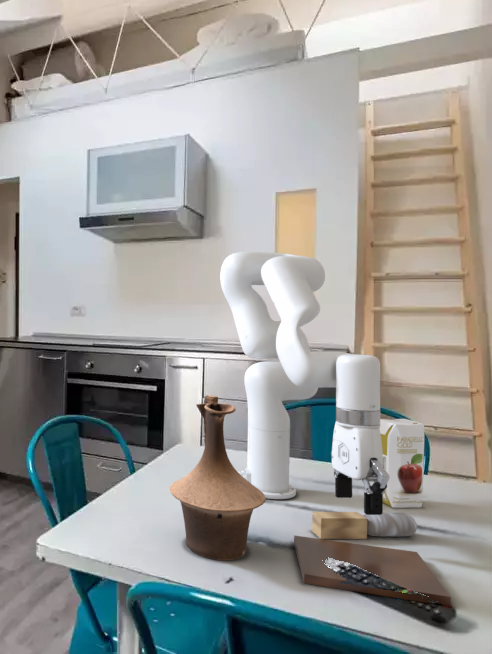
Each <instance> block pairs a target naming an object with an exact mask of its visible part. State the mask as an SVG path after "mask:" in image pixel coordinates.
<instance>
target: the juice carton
mask: <svg viewBox="0 0 492 654" xmlns="http://www.w3.org/2000/svg"><path fill="white" fill-rule="evenodd" d="M379 429H380V434H381V441H382V452H383V468H384V469H385V470H386V472H387V473H388V474H389V480H388V483H387V488H386V489H385V493H384V494H383V504H385V505H387V506H389V507H391V508H394V509H401V508H402V509H403V508H422V505H423V499H424V498H423V496H424V468H425V467H424V466H425V465H424V464H425V424H424V423H422V422H419V421H415V420H411V419H408V418H395V419H387V418H380V428H379Z"/></svg>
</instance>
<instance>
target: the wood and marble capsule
mask: <svg viewBox="0 0 492 654" xmlns="http://www.w3.org/2000/svg"><path fill="white" fill-rule="evenodd" d="M311 519H312V521H311V532H312V533H313V534H315V535H316V536H317V537H318V539H324V540H333V539H334V540H358V539H359V540H367V539H368V535H369V536H371V537H411V536H413V535H414V534H415V533H416V532H417V531H418V523H417V521H416V519H415V518H414V517H413V516H412V515H411V514H408V513H407V512H389V511H388V512H384V511H383V513H382V515H367V514H365V513H364V514H361V513H360V512H358V511H312V518H311Z"/></svg>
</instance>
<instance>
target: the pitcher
mask: <svg viewBox="0 0 492 654" xmlns="http://www.w3.org/2000/svg"><path fill="white" fill-rule="evenodd" d="M196 408H197V409H198V411H199V413H200V414H201V416H202V418H203V434H204V435H203V437H204V439H203V440H204V449H203V453H202V456H201V458H200V459H199V461H198V463H197V464H196V466H194V468H193V469H192V470H190V472H189V473H187V474H186V475H184V476H183V477H181V478H180V479H178V480H175V481H174V482H172V483H171V484H170V486H169V492H170V494H171V495H172V496H173V497H174V499H176V500H178V501H179V502H180V505H181V510H182V516H183V523H184V529H185V545H186V547H187V548H188V550H190V551H191V552H192V553H194V554H196V555H198V556H200V557H203V558H207V559H211V560H215V561H216V560H217V561H230V560H231V561H233V560H237V559H240V558H242V557H244V556H245V555H246V554H247V551H248V549H247V544H248V543H247V542H248V534H249V528H250V523H251V518H252V515H253V511H254V510H255V509H257V508H259V507H261V506H263V505H264V504H265V503H266V499H267V498H265V495H264V494H263V493H262V492H261V491H260V490H259V489H258V488H256V487H255V486H254V485H252V484H251V483H250V482H248V481H247V480H246V479H245V478H244V477H242V476H241V475H240V474H239V473H238V472H237V471H238V470H236V468H235V467H234V465H233V464H232V462H231V460H230V458H229V456H228V453H227V452H228V451H227V449H226V444H225V443H226V442H225V434H224V421H225V417H226V415H230V414H233V413H235V412H236V411H237V409H236V407H235V406H234V405H232V404H229V403H219V397H218V396H216V395H213V394H206V395H205V396H204V400H203V403H196Z"/></svg>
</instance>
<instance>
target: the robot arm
mask: <svg viewBox="0 0 492 654" xmlns="http://www.w3.org/2000/svg"><path fill="white" fill-rule="evenodd" d="M219 280H220V281H219V282H220V287H221V291H222V293H223V296H224V298H225V300H226V302H227V304H228V306H229V308H230V311H231V314H232V317H233V322H234V325H235V329H236V333H237V336H238V340H239V343H240V347H241V349H242V352H243V353H244V355H245V356H246V357H249V358H252V359H262V360H263V359H267V361H265V360H264V361H258V362H255V363H253V364H251V365H250V366H249V367H248V368H247V369H246V371H245V373H244V377H243V382H244V389H245V395H246V403H247V452H246V454H247V457H246V466H245V468H244V469H241V470H236V471H237V472H238V473H239V474H240V475H241V476H242V477H244V478H245V479H246V480H247V481H248V482H250V483H251V484H252V485H254V486H255V487H256V488H258V489H259V490H260V491H261V492H262V493H263V494H264V495H265V498H266V499H268V500H288V499H292V498H294V497H296V495H297V489H296V487H294V486H293V485H291V484H290V452H291V451H290V450H291V448H290V447H291V418H290V415H289V413H288V410H287V409H286V407H285V405H284V404H283V402H284V401H300V400H307V399H310V398H313V397H314V396H315V395H316V394H317V392H318V390H319V388H321V389H323V388H331V389H332V388H335V423H334V428H333V435H332V444H331V445H332V446H331V452H330V456H331V466H332V468H333V476H334V490H335V491H334V497H336V498H338V499H343V498H344V499H351V498H352V497H353V480H355V481H361V482H362V484H363V486H364V489H365V492H363V513H364V515H365V514H367V515H382V513H383V512H384V507H383V506H384V505H383V504H384V503H383V494H384V493H385V489H386V488H387V483H388V480H389V474H388V473H387V472H386V470H385V469H384V468H383V452H382V441H381V434H380V429H379V428H380V419H381V362H380V359H379V358H378V357H376V356H374V355H371V354H358V353H357V354H356V353H355V354H354V353H349V352H345V351H335V350H333V351H324V350H321V351H319V350H318V351H317V350H316V351H311V348H310V345H309V342H308V340H307V337H306V334H305V332H304V331H303V329H302V328H301V327H303V326H306V325H307V324H309V323H310V322H312V321H313V320H314V319H316V317H318V315H319V314H320V312H321V305H320V303H319V301H318V299H317V297H316V296H315V293H314V292H317V291H318V290H320V289H322V287H323V285H324V284H325V280H326V272H325V269H324V266H323V265H322V263H321V262H320V261H319V260H317V259H316V258H314V257H312V256H304V255H297V254H291V253H284V252H270V251H269V252H266V251H238V252H233V253H231V254H230V255H228V256H226V257H225V258H224V260H223V261H222V264H221V267H220V274H219ZM253 286H265V289H266V290H267V293H268V295H269V297H270V298H271V302H272V303H273V305H274V307H275V310H276V312H277V314H278V316H279V318H280V320H274V319H272V318H271V315H270V312H269V309H268V306H267V303H266V301H265V300H264V298H263V297H262V296H261V295H260V294H259V292H257V291H256V290H255V289H254V288H253ZM268 359H271V360H268ZM272 359H273V360H272ZM274 359H278V360H274ZM370 482H373V483H372V484H371V483H370Z"/></svg>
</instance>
